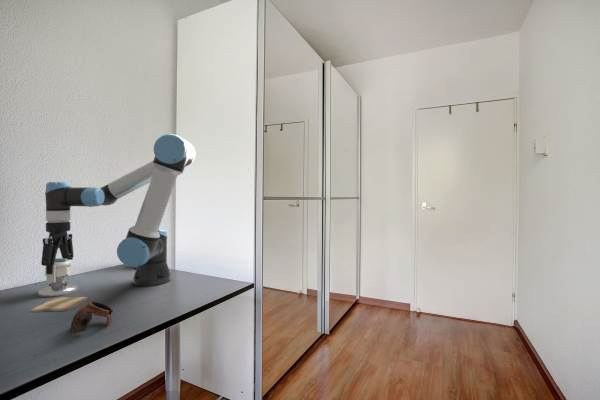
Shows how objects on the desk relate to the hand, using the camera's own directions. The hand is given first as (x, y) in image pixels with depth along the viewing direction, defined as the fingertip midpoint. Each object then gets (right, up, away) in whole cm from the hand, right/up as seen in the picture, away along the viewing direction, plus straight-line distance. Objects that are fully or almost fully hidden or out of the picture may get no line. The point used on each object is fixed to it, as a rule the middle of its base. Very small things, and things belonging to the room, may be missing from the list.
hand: (58, 279), depth 118 cm
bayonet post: (0, -5, 0) cm, 5 cm away
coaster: (+12, -5, -13) cm, 19 cm away
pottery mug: (+34, -6, -31) cm, 47 cm away
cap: (0, +2, 0) cm, 2 cm away
